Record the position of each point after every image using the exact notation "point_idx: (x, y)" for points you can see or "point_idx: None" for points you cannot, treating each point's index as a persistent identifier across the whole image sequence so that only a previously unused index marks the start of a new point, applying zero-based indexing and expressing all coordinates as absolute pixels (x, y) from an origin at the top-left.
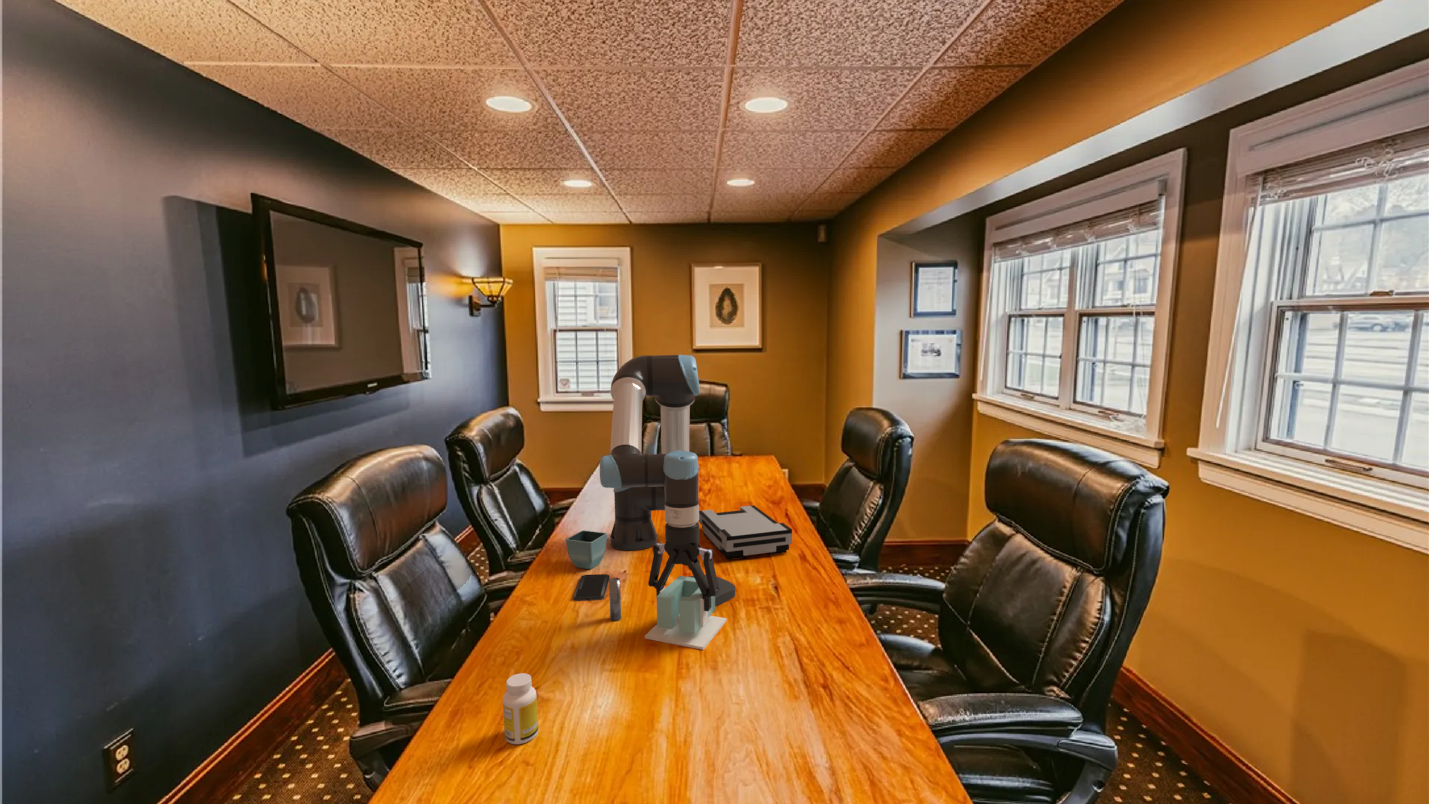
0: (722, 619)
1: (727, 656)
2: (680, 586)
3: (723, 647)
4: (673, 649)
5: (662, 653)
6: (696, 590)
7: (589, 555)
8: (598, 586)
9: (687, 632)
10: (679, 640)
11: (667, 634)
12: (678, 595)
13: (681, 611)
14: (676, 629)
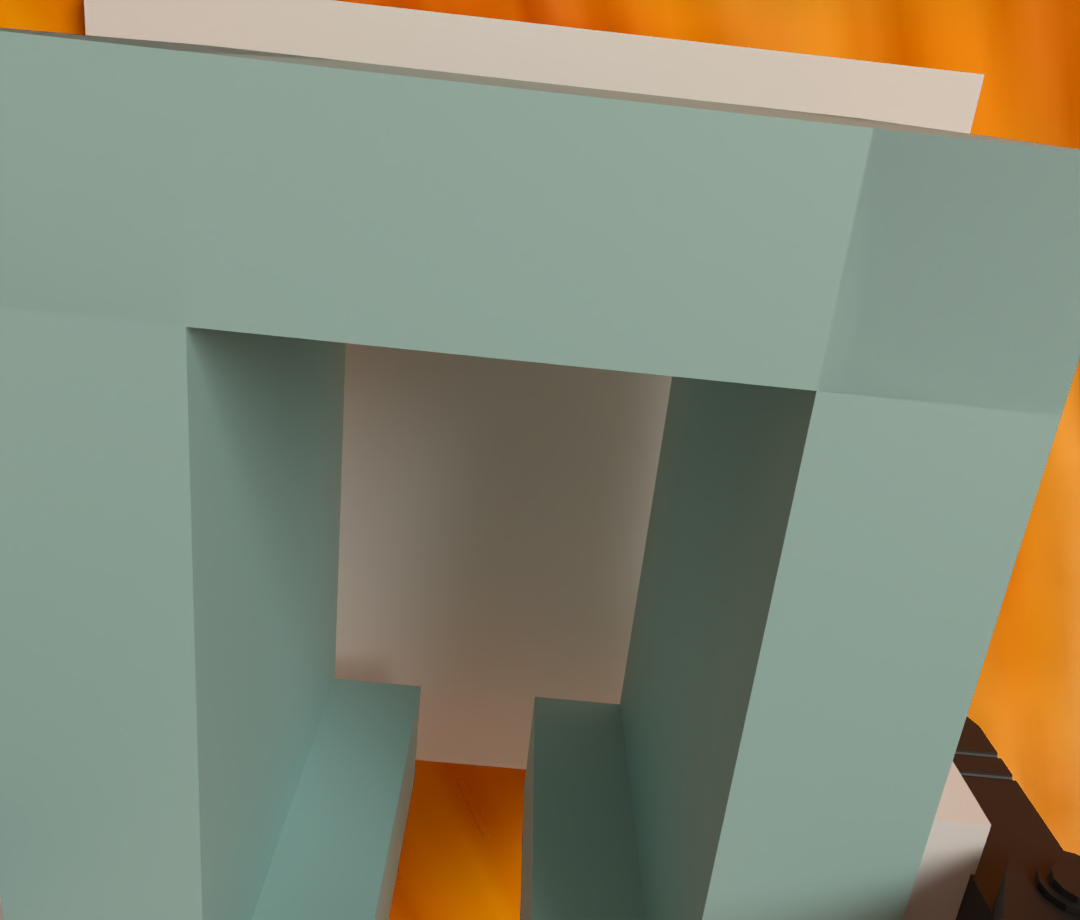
0: (927, 125)
1: (1047, 817)
2: (220, 506)
3: (993, 688)
4: (506, 822)
5: (432, 896)
6: (730, 812)
7: None
8: None
9: (553, 569)
10: (524, 738)
11: (348, 659)
12: (267, 541)
13: None
14: (400, 532)
